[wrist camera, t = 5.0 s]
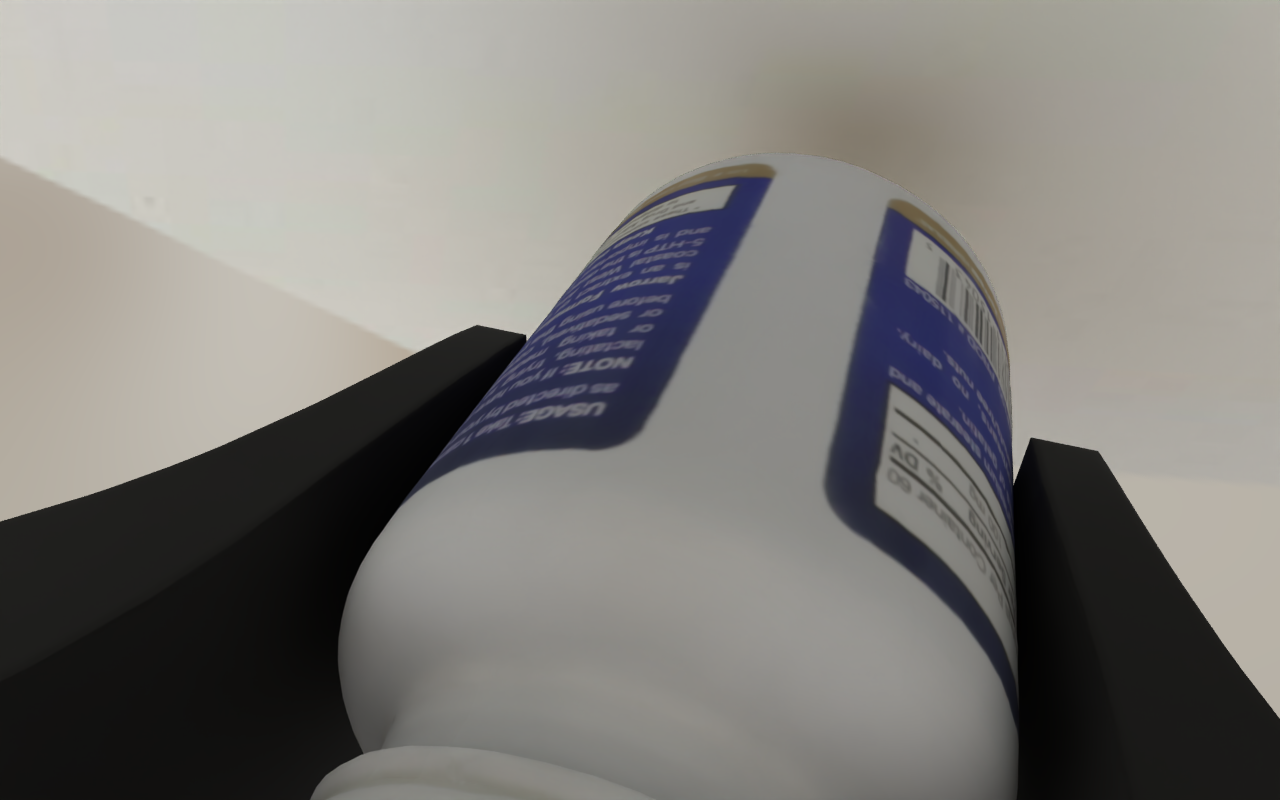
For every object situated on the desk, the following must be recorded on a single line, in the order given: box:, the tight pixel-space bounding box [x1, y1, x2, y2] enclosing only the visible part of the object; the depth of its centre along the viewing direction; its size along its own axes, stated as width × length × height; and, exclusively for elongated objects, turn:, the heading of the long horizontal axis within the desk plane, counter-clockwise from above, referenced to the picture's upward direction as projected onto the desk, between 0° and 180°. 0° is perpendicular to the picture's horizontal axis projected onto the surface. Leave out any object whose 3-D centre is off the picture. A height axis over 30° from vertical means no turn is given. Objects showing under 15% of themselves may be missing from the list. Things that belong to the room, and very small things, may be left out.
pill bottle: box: [310, 153, 1019, 800], centre depth 8 cm, size 5×5×9 cm
